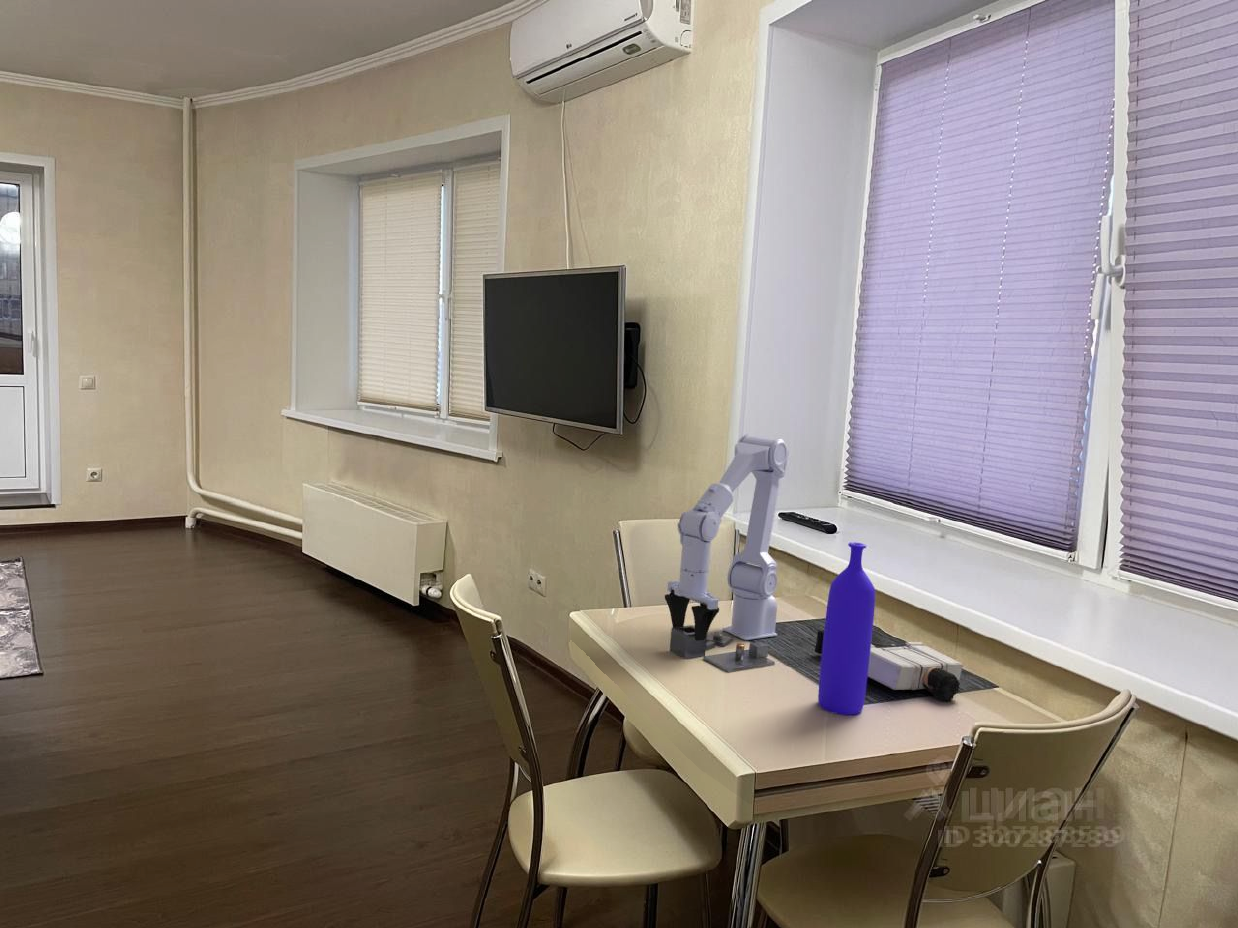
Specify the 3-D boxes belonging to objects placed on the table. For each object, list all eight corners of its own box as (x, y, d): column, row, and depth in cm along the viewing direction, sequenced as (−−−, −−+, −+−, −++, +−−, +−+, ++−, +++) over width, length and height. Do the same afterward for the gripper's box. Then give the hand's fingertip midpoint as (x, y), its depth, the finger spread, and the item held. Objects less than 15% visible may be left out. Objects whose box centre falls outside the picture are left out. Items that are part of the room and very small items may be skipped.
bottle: (865, 719, 165) (883, 551, 161) (816, 712, 166) (833, 545, 162) (862, 702, 173) (880, 541, 169) (816, 695, 174) (832, 536, 170)
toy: (803, 655, 196) (915, 711, 171) (808, 623, 195) (922, 673, 170) (868, 651, 206) (983, 703, 181) (873, 620, 205) (990, 668, 180)
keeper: (750, 651, 197) (752, 635, 196) (776, 664, 190) (778, 647, 190) (703, 659, 190) (704, 641, 190) (728, 672, 184) (729, 654, 183)
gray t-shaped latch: (711, 636, 206) (711, 628, 205) (732, 641, 203) (733, 633, 203) (693, 647, 197) (694, 638, 197) (715, 652, 195) (716, 643, 195)
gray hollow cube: (689, 648, 197) (691, 624, 196) (705, 655, 192) (707, 632, 192) (669, 651, 194) (671, 627, 193) (684, 659, 189) (686, 635, 189)
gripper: (657, 562, 195) (652, 625, 196) (700, 579, 182) (694, 647, 184) (685, 559, 198) (679, 622, 200) (728, 576, 186) (722, 643, 188)
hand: (688, 634), depth 192 cm, fingers open, 7 cm apart
